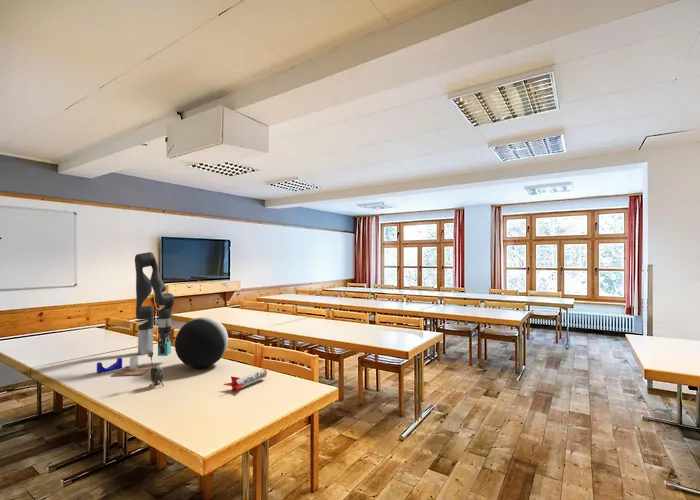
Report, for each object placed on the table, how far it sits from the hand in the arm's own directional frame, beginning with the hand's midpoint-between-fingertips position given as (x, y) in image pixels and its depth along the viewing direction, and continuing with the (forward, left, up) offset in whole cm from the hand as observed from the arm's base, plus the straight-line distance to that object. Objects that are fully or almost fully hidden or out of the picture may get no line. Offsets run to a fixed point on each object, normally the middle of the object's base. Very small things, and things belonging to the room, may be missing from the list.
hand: (164, 352), depth 217 cm
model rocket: (+46, +61, -7) cm, 77 cm away
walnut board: (+16, -10, -7) cm, 20 cm away
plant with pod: (+42, +13, -7) cm, 45 cm away
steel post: (+16, -10, -6) cm, 20 cm away
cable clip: (+12, -26, -7) cm, 30 cm away
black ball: (+9, +26, -7) cm, 28 cm away
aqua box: (0, 0, -2) cm, 2 cm away
